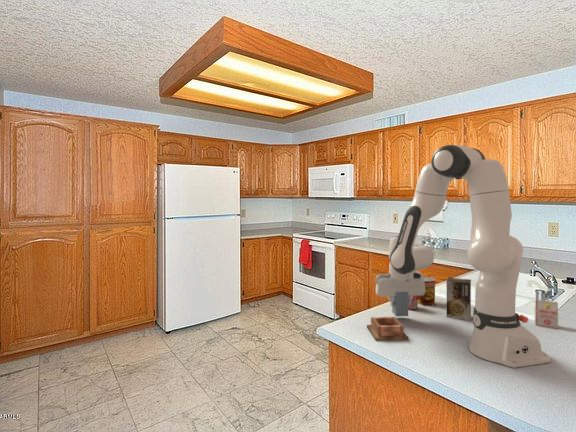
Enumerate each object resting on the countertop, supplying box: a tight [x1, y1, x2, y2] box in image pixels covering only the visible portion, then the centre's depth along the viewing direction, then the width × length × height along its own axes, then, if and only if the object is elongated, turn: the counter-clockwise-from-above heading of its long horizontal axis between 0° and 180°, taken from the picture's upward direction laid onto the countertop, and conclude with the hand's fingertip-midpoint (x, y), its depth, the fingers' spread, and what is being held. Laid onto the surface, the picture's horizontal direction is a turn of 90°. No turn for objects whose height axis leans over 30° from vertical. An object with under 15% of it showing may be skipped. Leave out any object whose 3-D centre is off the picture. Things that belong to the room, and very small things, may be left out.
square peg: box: [391, 292, 409, 317], centre depth 136 cm, size 5×5×10 cm
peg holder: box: [366, 316, 409, 341], centre depth 122 cm, size 12×12×4 cm
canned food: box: [418, 276, 436, 307], centre depth 156 cm, size 8×8×12 cm
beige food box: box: [534, 299, 559, 330], centre depth 127 cm, size 4×7×10 cm, turn 59°
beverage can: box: [408, 296, 419, 310], centre depth 150 cm, size 6×6×12 cm
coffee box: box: [445, 276, 472, 322], centre depth 138 cm, size 9×6×16 cm
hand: (400, 305), depth 136 cm, fingers closed on square peg, 5 cm apart
